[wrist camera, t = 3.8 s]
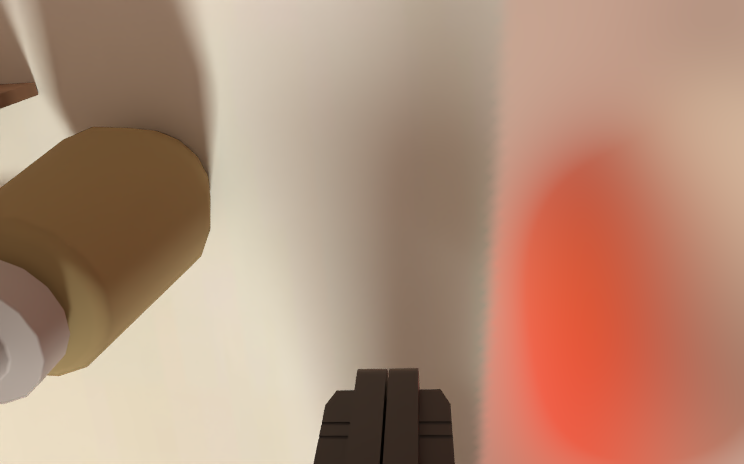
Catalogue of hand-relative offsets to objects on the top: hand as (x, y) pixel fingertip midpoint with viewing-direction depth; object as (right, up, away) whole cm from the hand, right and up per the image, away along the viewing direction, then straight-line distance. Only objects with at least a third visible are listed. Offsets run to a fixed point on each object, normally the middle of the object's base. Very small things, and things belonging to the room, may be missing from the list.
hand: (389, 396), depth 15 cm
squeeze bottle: (-12, +7, +17) cm, 21 cm away
